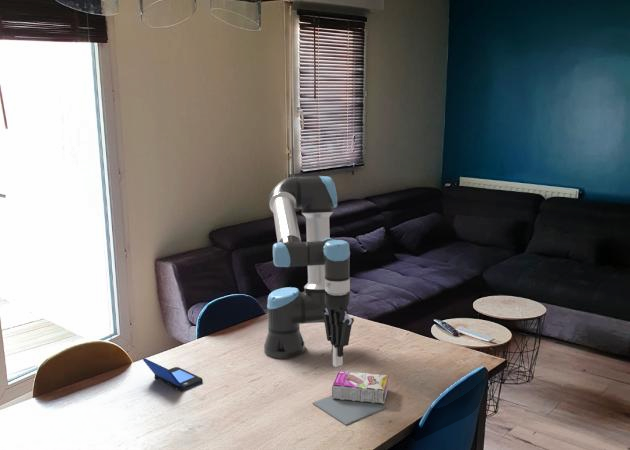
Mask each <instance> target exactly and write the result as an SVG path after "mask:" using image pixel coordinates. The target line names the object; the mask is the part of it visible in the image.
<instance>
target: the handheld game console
mask: <svg viewBox="0 0 630 450" xmlns="http://www.w3.org/2000/svg"><path fill="white" fill-rule="evenodd" d="M142 360H143V362H144V363H145V364H146V366H147V367H148V369H150V371H151V372H152V373H153V374H154V379H156V380H157V381H160V382H162V383H164V384H167V383H168V385H170V387H171V388H174V389H176V390H177V391H179V392H184V391H185V390H187V389H190V388H191V387H192V388H193V387H194V386H196V385H199V384H201V383H203V378H202V377H200V376H199V375H196V374H194V373H192V372H189V371H187V370H186V369H184V368H181V367H178V366H174V367H172V368H170V369H168V368H166V367H164V366H162V365H159V364H157V363H156V362H153V361H152V360H150V359H147V358H144V357H143V358H142Z"/></svg>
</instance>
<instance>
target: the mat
mask: <svg viewBox="0 0 630 450" xmlns="http://www.w3.org/2000/svg"><path fill="white" fill-rule="evenodd" d="M312 405H314V406H315V407H316V408H318V409H319V410H321V411H323V412H324V413H326V414H327V415H329V416H330V417H332V418H334V419H335V420H337V421H338V422H340V423H341V424H343V425H344V426H348V425H350V424H353V423H355V422H358V421H359V420H362V419H364V418H367V417H369V416H372V415H374V414H376V413H379V412H381V411H383V410H386V409H387V406H385V405H384V404H380V403H369V402H359V401H349V400H339V399H332V395H330V396H327V397H324V398H321V399H318V400H316V401H314V402H312Z"/></svg>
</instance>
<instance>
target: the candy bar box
mask: <svg viewBox="0 0 630 450" xmlns="http://www.w3.org/2000/svg"><path fill="white" fill-rule="evenodd" d="M388 390H389V374H379V373H377V374H376V373H367V372H356V371H355V372H354V371H343V370H338V372H337V375H336V377H335V379H334V381H333V384H332V387H331V393H332V394H331V396H332V399H339V400H349V401H359V402H369V403H380V404H382V405H384V404H385V402H386V399H387V394H388Z"/></svg>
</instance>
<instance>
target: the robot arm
mask: <svg viewBox="0 0 630 450" xmlns="http://www.w3.org/2000/svg"><path fill="white" fill-rule="evenodd" d="M336 189H337V188H336V185H335V181H334V180H333V178H332V177H331V176H327V175H326V176H325V175H324V176H323V175H316V176H291V177H286V178H284V179H282V180H281V181H279V182H278V183H277V184H276V185H274V187H273V189H272V190H271V192H270V194H269V197H268V203H269V209H270V211H271V212H272V213H273V219H274V227H275V234H276V239H277V240H276V241H277V242H275V243H274V244H273V245H272V258H273V259H272V261H273V265H274V266H275V267H277V268H279V267H280V268H284V267H285V268H290V267H291V268H292V267H293V268H295V267H306V266H307V283H306V284H305V285H304V286H303V291H302V292H301V291H300V290H299V288H297V287H292V286H289V287H281V288H278V289H274V290H272V291H271V292H270V293H269V295H268V297H267V304H266V308H267V323H268V324H267V326H268V327H267V329H268V331H267V334H266V338H265V342H264V346H263V352H264V354H265V355H267V356H268V357H271V358H275V359H291V358H292V359H293V358H297V357H299V356H301V355H303V354H304V352H305V350H306V349H305V341H304V338H303V335H302V333H301V331H300V330H301V329H300V325H303V324H304V325H305V324H313V323H314V324H316V323H317V324H318V323H324V328H325V333H326V340H327V342H330V344H331V353H332V366H333V367H335V368H337V367H340V366H343V365H344V364H343V363H344V362H343V360H344V359H343V356H344V347H345V346H348V345H349V342H350V336H351V332H352V325H353V323H354V321H355V319H354V317H350V316H349V310H348V306H350V303H351V300H350V299H351V298H350V297H351V295H350V291H351V281H350V280H351V279H350V269H351V268H350V267H351V266H350V258H351V257H350V255H351V251H350V243H349V242H348V241H346V240H344V239H343V240H342V239H335V238H331V237H330V235H331V234H330V233H331V231H330V230H331V229H330V217H331V216H332V214H333V213H334V209H335V208H337V207H338V195H337V190H336ZM296 209H300V210H301V215H302V216H304V217H305V227H306V232H305V233H306V241H302V238H301V233H300V229H299V224H298V218H297V214H296Z"/></svg>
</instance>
